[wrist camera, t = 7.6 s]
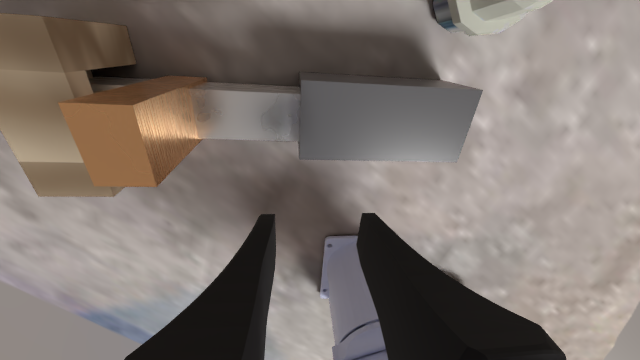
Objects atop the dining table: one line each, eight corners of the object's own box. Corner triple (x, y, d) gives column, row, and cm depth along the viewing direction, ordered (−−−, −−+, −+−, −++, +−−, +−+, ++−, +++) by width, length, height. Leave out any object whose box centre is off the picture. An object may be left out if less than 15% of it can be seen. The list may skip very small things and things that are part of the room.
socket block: (161, 156, 20) (114, 196, 15) (107, 155, 19) (38, 196, 14) (126, 25, 16) (41, 16, 10) (55, 20, 15) (-70, 7, 10)
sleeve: (424, 139, 21) (457, 162, 17) (298, 135, 20) (299, 159, 16) (441, 80, 19) (483, 90, 15) (299, 71, 18) (301, 80, 14)
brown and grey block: (335, 131, 20) (363, 187, 12) (118, 124, 18) (-18, 185, 10) (340, 84, 18) (375, 115, 10) (100, 72, 16) (-79, 97, 8)
